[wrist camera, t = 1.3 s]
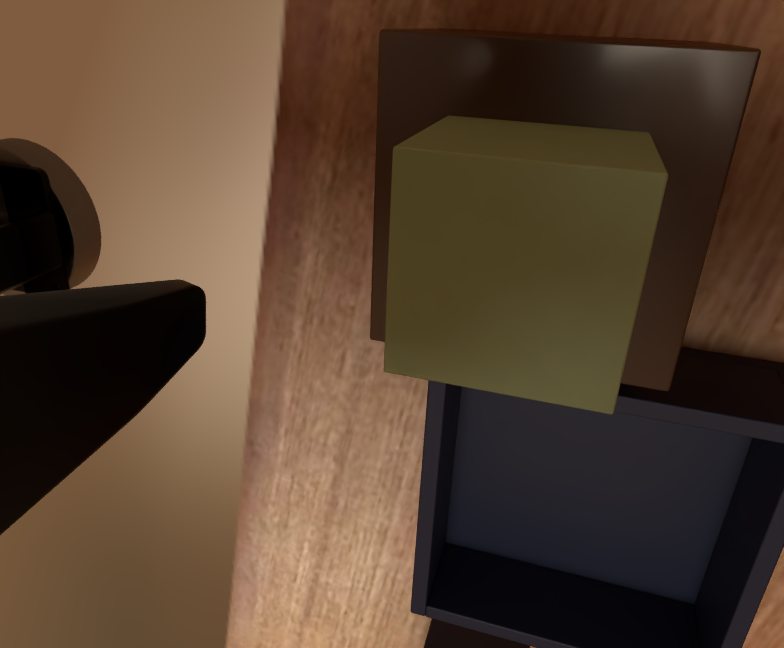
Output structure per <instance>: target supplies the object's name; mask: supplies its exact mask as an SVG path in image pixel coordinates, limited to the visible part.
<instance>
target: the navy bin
mask: <svg viewBox="0 0 784 648" xmlns="http://www.w3.org/2000/svg"><path fill="white" fill-rule="evenodd" d="M783 547H784V364H781V363H775V362H769V361H762V360H756V359H750V358H744V357H737V356H731V355H725V354H718V353H712V352H706V351H700V350H693V349H687V348H681V349H680V353H679V357H678V361H677V364H676V368H675V372H674V375H673V379H672V383H671V386H670V390H669V391H661V390H656V389H650V388H644V387H639V386H633V385H627V384H622V383H620V388H619V392H618V396H617V401H616V405H615V409H614V413H613V414H606V413H601V412H596V411H590V410H585V409H580V408H574V407H569V406H564V405H559V404H553V403H548V402H543V401H537V400H532V399H527V398H521V397H516V396H511V395H505V394H500V393H495V392H489V391H484V390H479V389H473V388H468V387H463V386H457V385H452V384H447V383H441V382H436V381H431V380H429V382H428V395H427V408H426V420H425V433H424V446H423V459H422V471H421V484H420V497H419V510H418V523H417V535H416V548H415V561H414V574H413V586H412V599H411V612H412V613H415V614H419V615H422V616H425V615H426V617H429V618H433V619H437V620H440V621H444V622H447V623H451V624H454V625H458V626H462V627H465V628H469V629H472V630H476V631H479V632H483V633H486V634H490V635H494V636H497V637H501V638H504V639H508V640H511V641H515V642H519V643H522V644H526V645H529V646H533V647H536V648H742V646H743V643H744V641H745V639H746V636H747V634H748V631H749V629H750V627H751V624H752V622H753V619H754V617H755V614H756V612H757V610H758V607H759V605H760V602H761V600H762V597H763V595H764V593H765V590H766V588H767V585H768V583H769V581H770V578H771V576H772V573H773V571H774V568H775V566H776V564H777V561H778V559H779V556H780V554H781V551H782V549H783Z"/></svg>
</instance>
